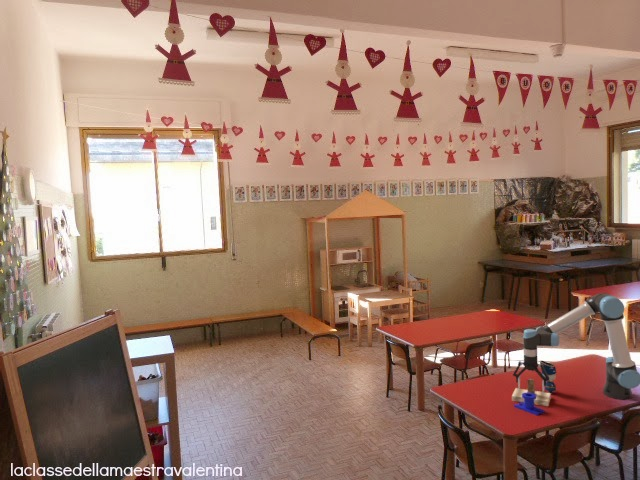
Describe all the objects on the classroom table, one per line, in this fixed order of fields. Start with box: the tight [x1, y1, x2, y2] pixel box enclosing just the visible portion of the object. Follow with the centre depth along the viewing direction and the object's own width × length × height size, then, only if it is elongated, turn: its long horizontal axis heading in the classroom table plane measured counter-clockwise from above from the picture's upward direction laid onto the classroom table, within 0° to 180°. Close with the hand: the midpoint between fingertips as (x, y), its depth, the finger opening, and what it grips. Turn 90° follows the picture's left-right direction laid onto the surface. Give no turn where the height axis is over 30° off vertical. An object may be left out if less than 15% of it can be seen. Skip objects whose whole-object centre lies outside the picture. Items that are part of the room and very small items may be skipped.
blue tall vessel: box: [539, 360, 557, 394], centre depth 298 cm, size 13×9×20 cm
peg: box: [526, 378, 536, 394], centre depth 289 cm, size 4×4×12 cm
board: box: [511, 387, 552, 407], centre depth 289 cm, size 20×14×3 cm
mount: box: [513, 393, 546, 416], centre depth 275 cm, size 15×8×9 cm, turn 31°
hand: (531, 389), depth 289 cm, fingers open, 13 cm apart
